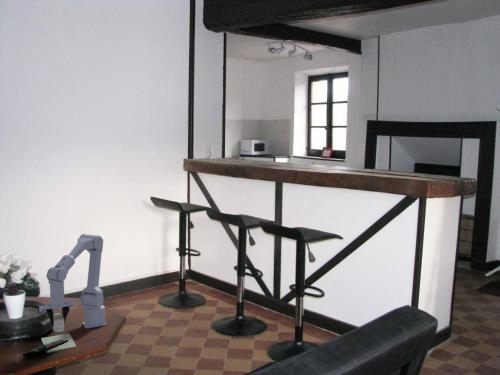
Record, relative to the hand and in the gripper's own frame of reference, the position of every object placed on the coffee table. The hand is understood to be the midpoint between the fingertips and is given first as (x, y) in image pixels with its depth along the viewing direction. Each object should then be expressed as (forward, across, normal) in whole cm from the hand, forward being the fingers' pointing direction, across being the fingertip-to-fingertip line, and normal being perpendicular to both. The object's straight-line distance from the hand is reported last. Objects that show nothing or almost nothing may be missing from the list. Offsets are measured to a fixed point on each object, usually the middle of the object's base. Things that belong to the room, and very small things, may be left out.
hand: (58, 324), depth 221 cm
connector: (+1, 0, -1) cm, 2 cm away
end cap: (+9, -4, +15) cm, 18 cm away
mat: (+8, 0, 0) cm, 8 cm away
